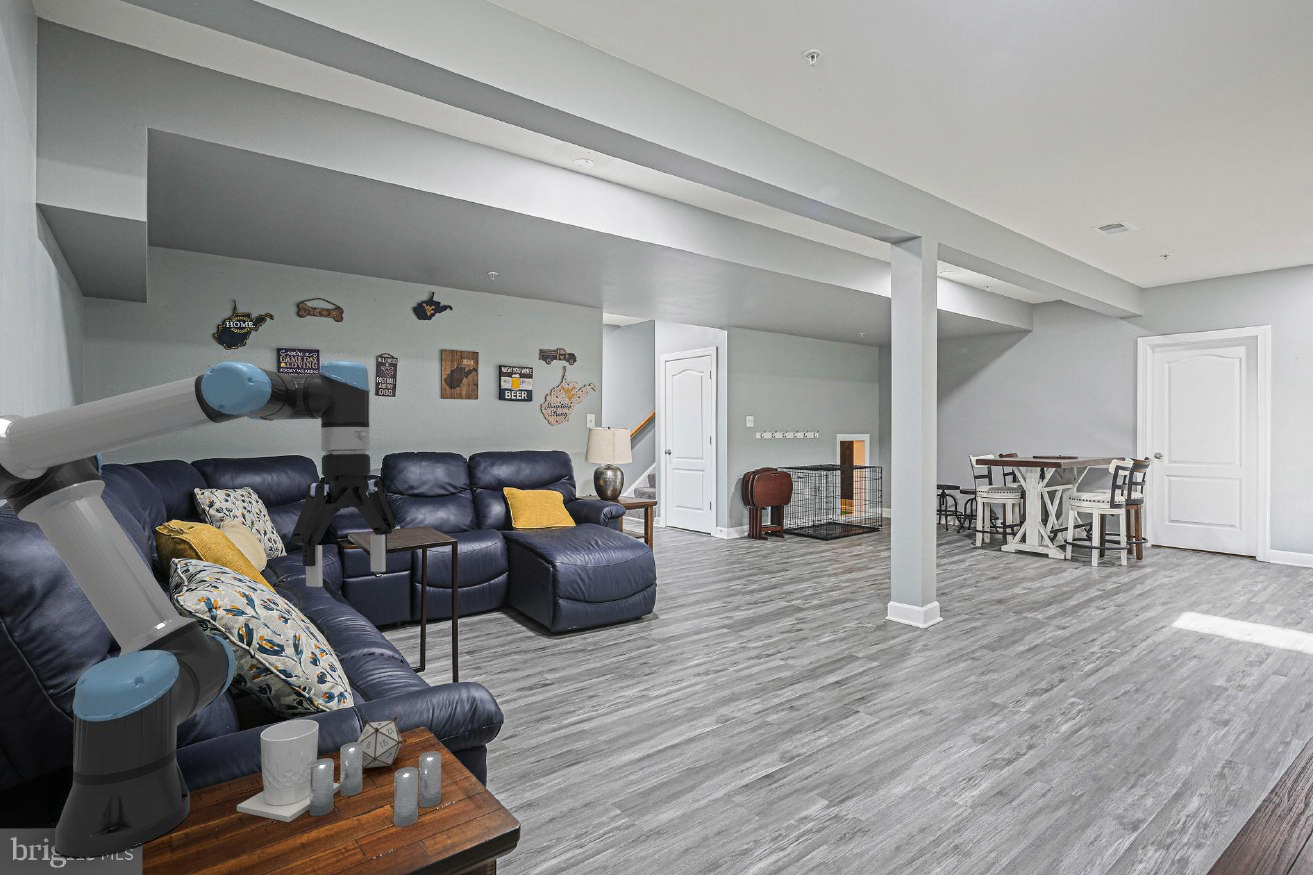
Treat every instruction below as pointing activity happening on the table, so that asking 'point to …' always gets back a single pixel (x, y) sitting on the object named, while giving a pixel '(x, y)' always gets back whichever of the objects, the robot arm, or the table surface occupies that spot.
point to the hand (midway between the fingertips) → (348, 578)
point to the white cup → (288, 760)
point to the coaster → (277, 807)
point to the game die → (380, 743)
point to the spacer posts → (353, 783)
